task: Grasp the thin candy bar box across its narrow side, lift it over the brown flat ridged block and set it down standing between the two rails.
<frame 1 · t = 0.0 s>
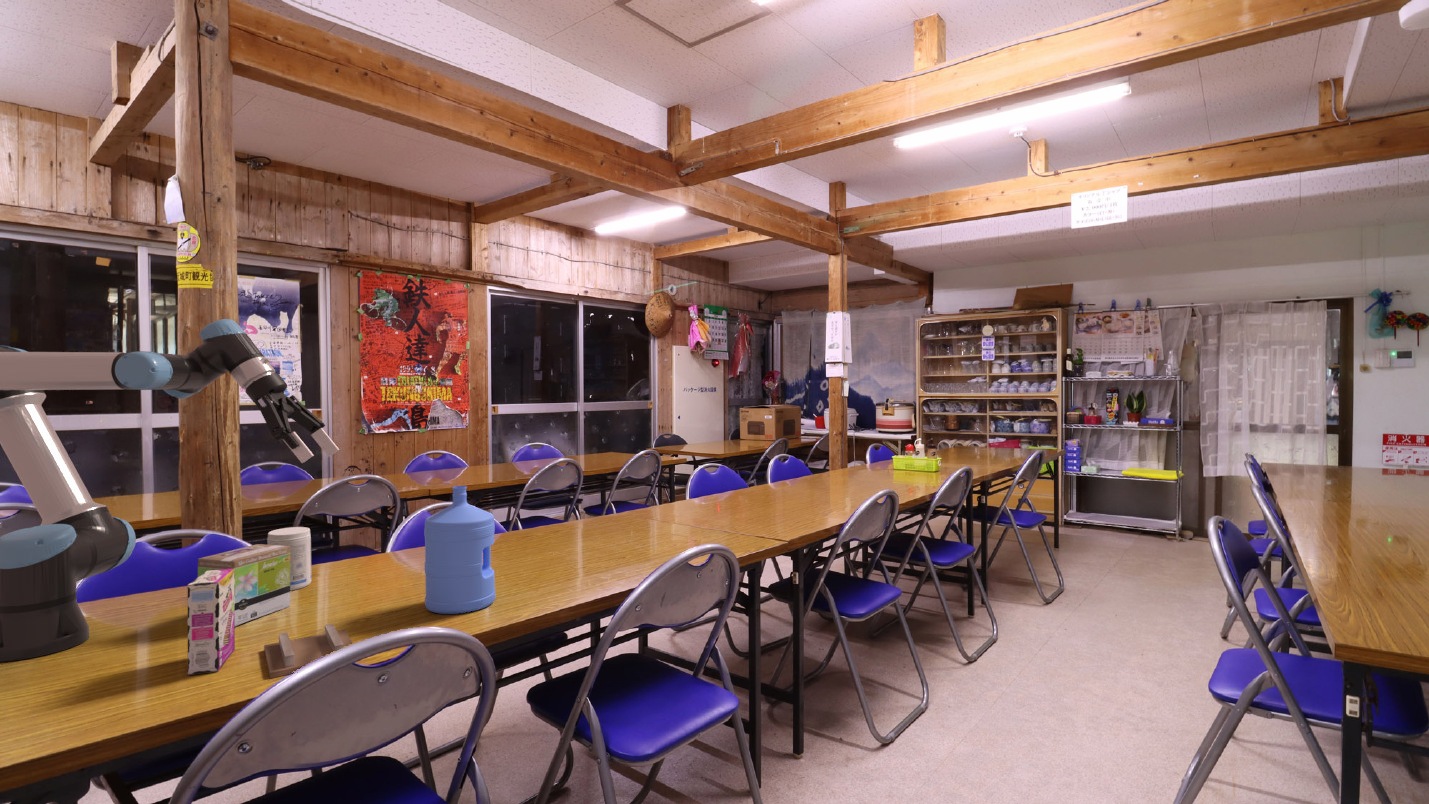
hand: (321, 456, 152), 36 cm above the table, tool tilted 35°, fingers open, 13 cm apart
water jug: (460, 605, 157), on the table
supplement tub: (290, 587, 172), on the table
candy bar box: (213, 663, 124), on the table
brown flat ridged block: (310, 654, 128), on the table
tea box: (246, 616, 150), on the table
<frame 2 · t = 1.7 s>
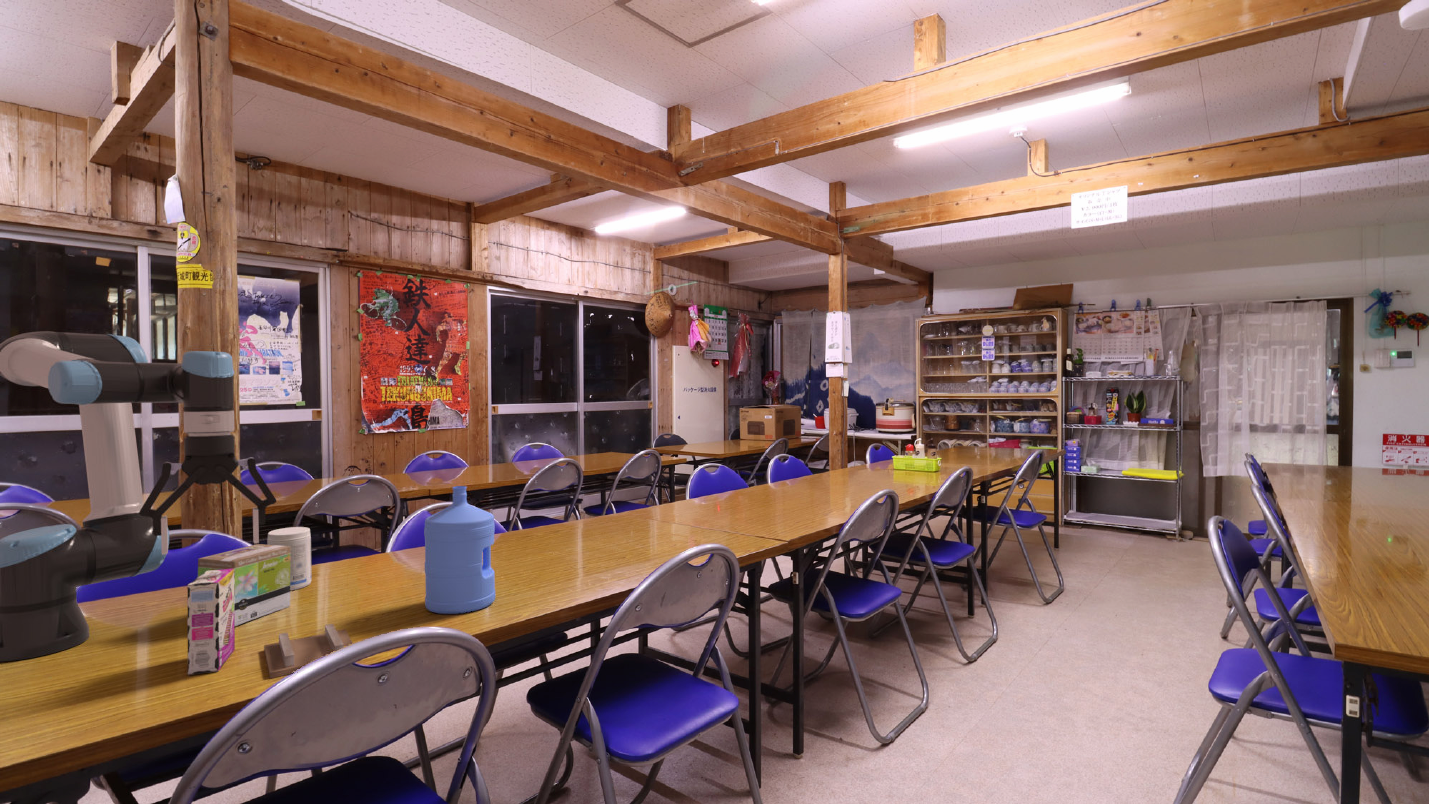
hand: (212, 547, 124), 22 cm above the table, tool pointing down, fingers open, 13 cm apart
nothing on the table moved.
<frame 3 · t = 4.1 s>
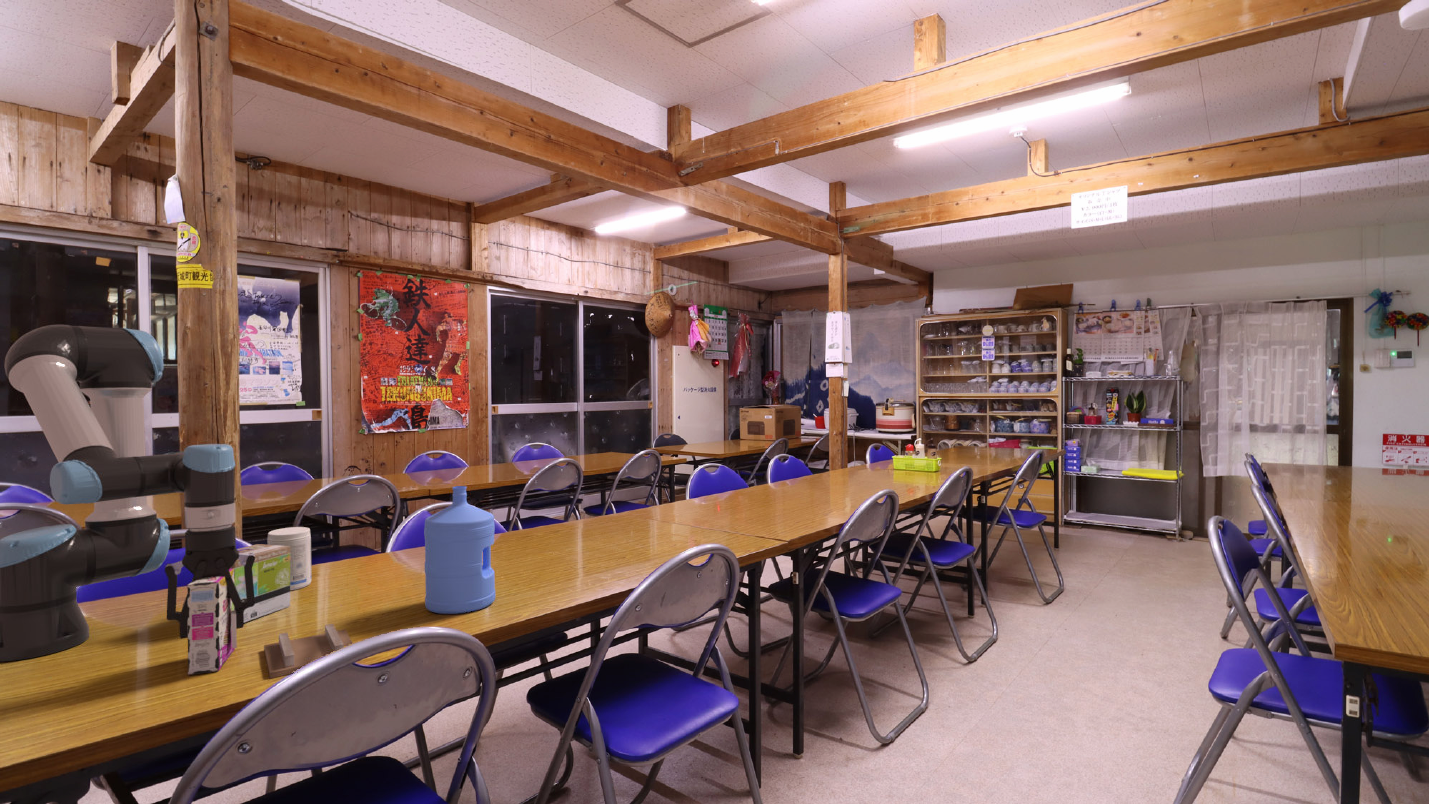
hand: (212, 649, 124), 2 cm above the table, tool pointing down, fingers closed on candy bar box, 6 cm apart
candy bar box: (213, 663, 124), on the table, touching gripper
everything else where it was.
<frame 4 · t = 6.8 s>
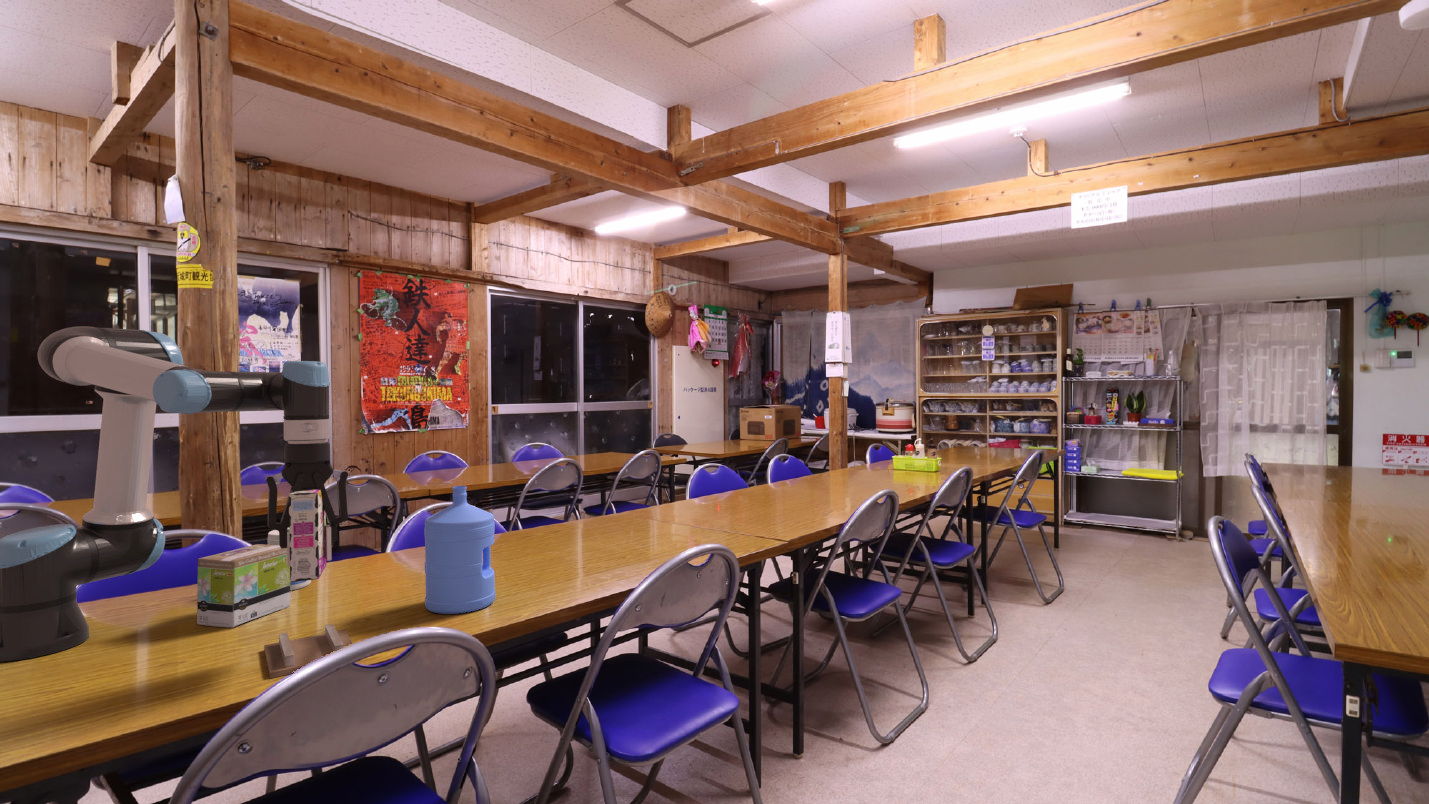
hand: (309, 561, 127), 18 cm above the table, tool pointing down, fingers closed on candy bar box, 6 cm apart
candy bar box: (310, 575, 127), point 15 cm above the table, touching gripper
everything else where it was.
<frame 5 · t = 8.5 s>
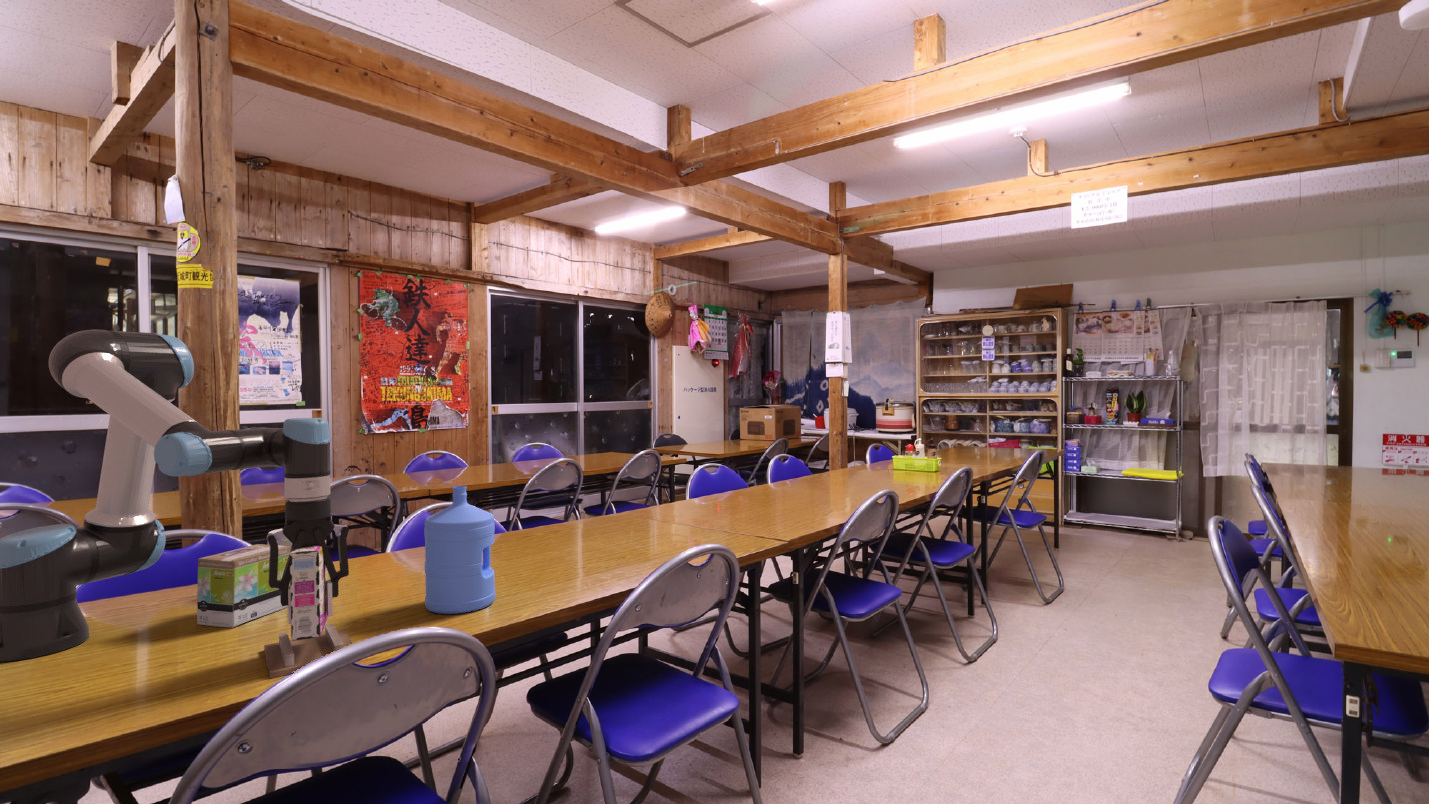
hand: (310, 617, 128), 7 cm above the table, tool pointing down, fingers closed on candy bar box, 6 cm apart
candy bar box: (311, 631, 128), point 5 cm above the table, touching gripper
everything else where it was.
when the fingers open (5 cm above the table, at t = 9.4 s): candy bar box stays where it is, resting on brown flat ridged block.
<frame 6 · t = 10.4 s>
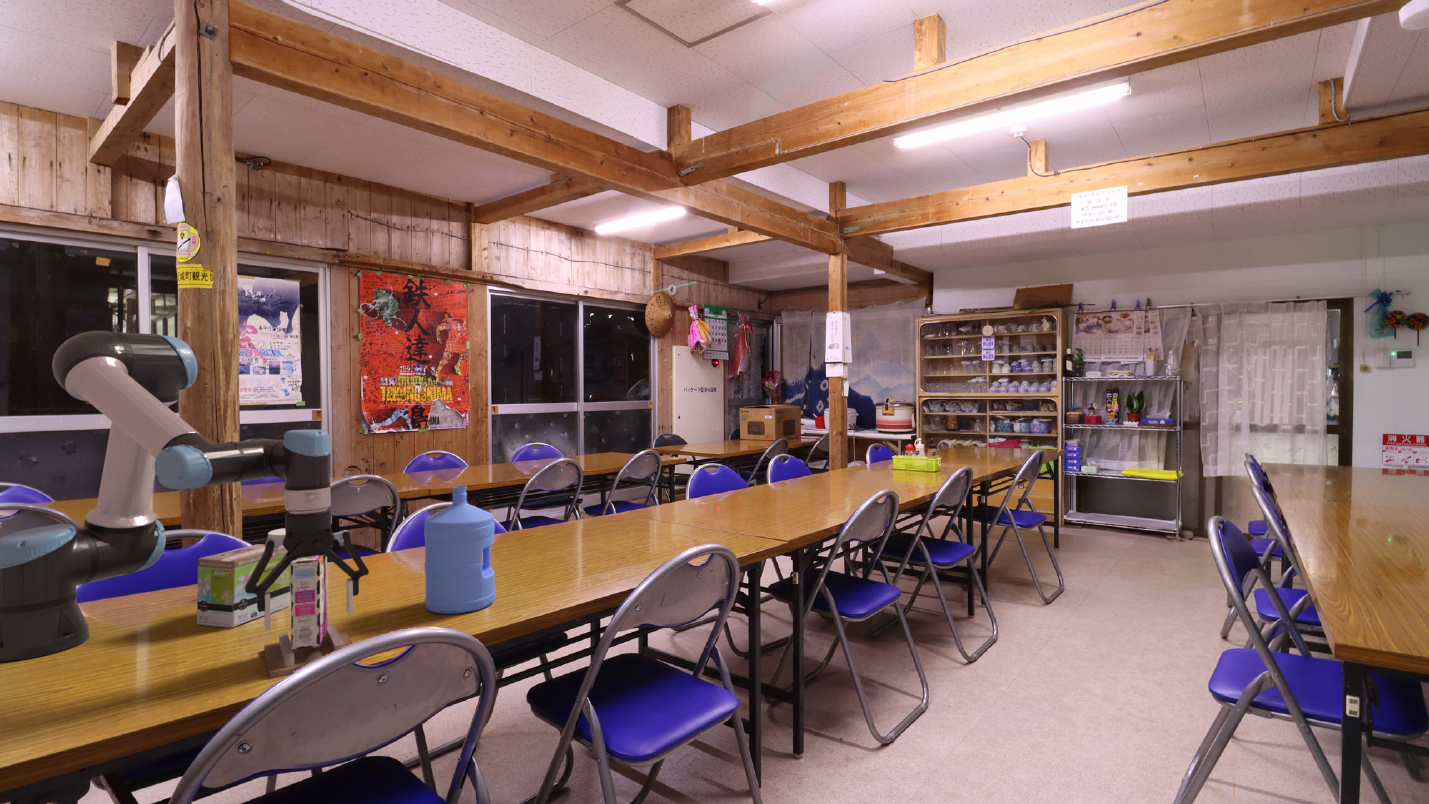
hand: (310, 619, 128), 7 cm above the table, tool pointing down, fingers open, 13 cm apart
candy bar box: (311, 640, 128), point 3 cm above the table, touching brown flat ridged block
everything else where it was.
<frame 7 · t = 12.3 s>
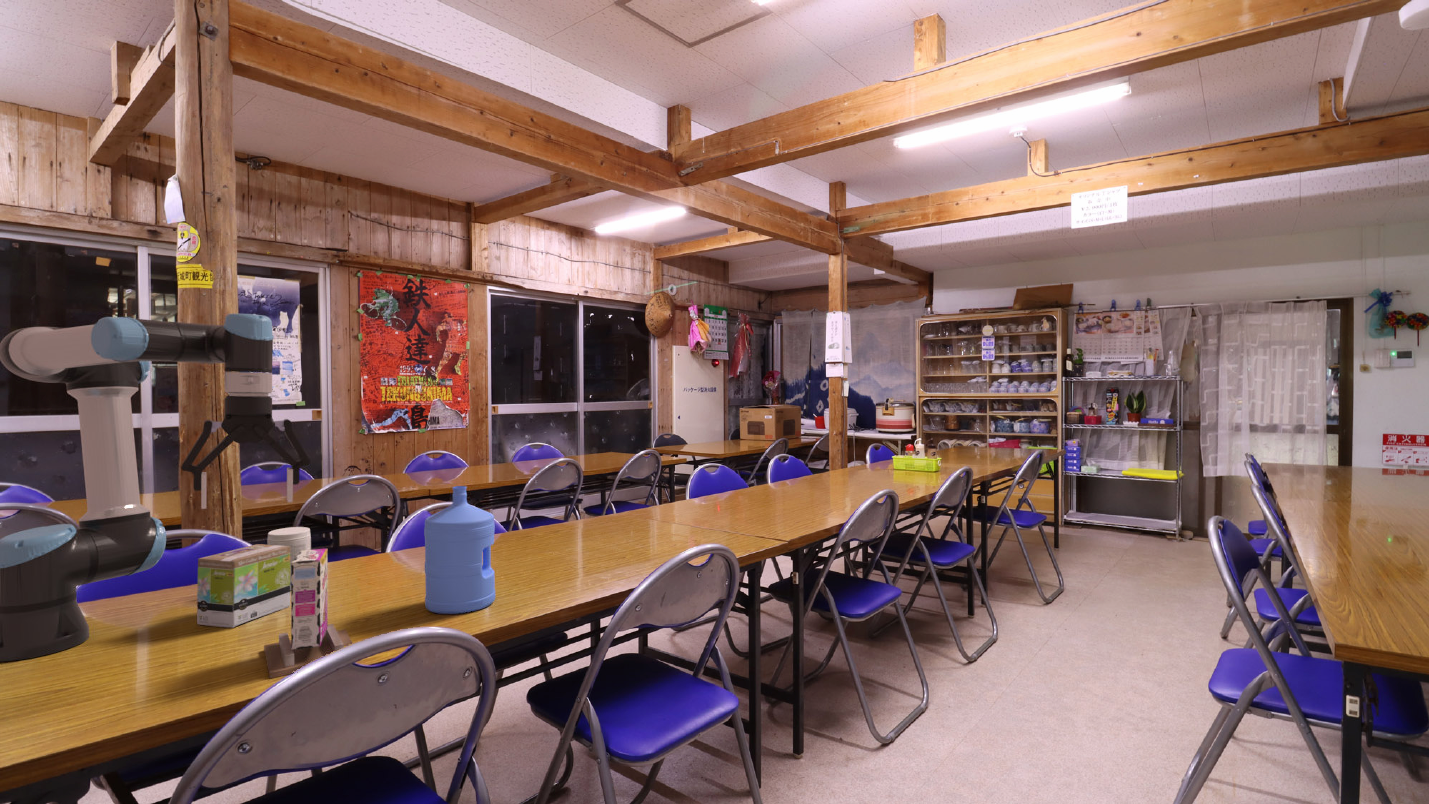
hand: (248, 504, 128), 29 cm above the table, tool pointing down, fingers open, 13 cm apart
nothing on the table moved.
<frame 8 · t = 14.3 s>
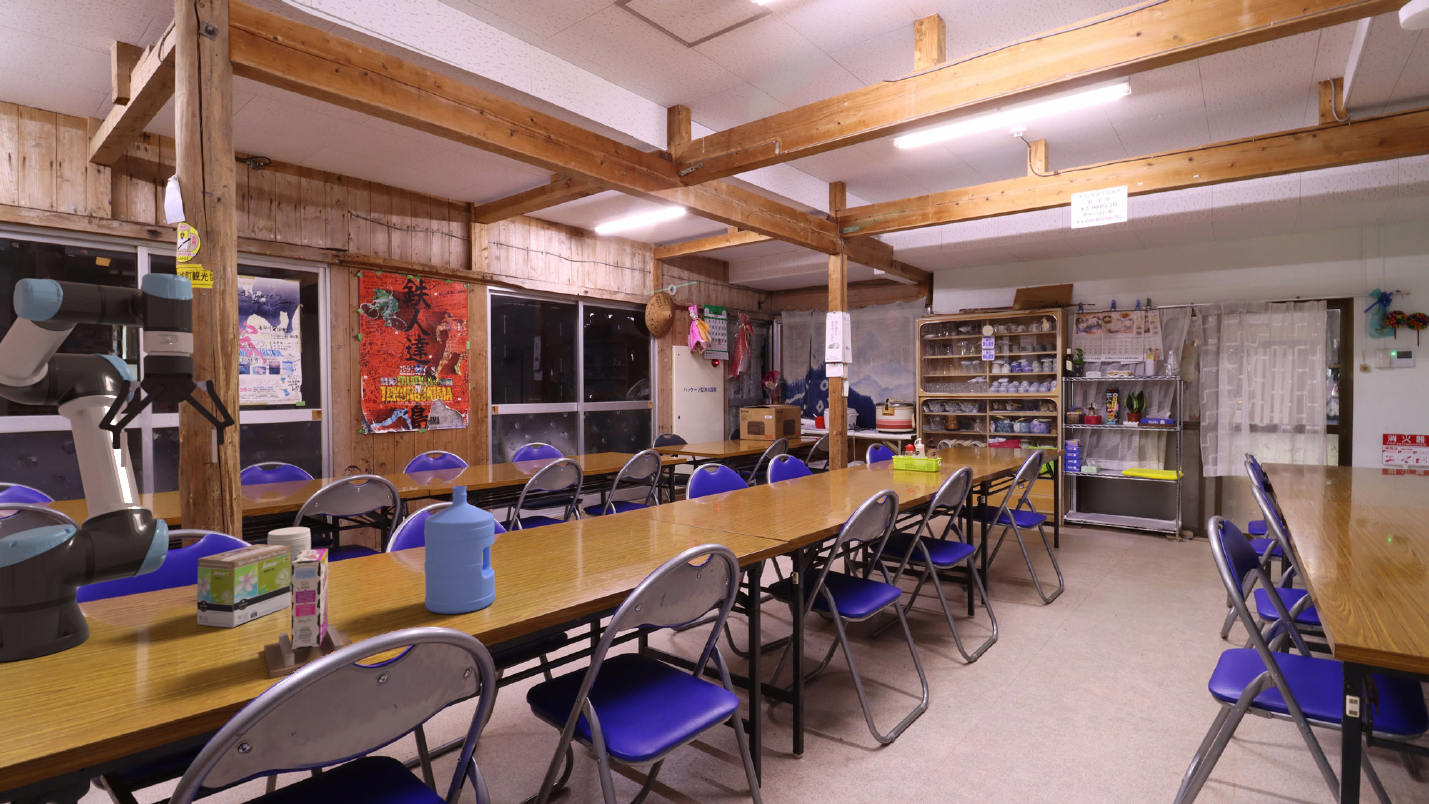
hand: (171, 464, 129), 37 cm above the table, tool pointing down, fingers open, 13 cm apart
nothing on the table moved.
at the end: candy bar box inside the target area on the brown flat ridged block (0.1 cm from its centre), point 2.8 cm above the brown flat ridged block's base; candy bar box tilted 0°; the gripper is holding nothing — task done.
